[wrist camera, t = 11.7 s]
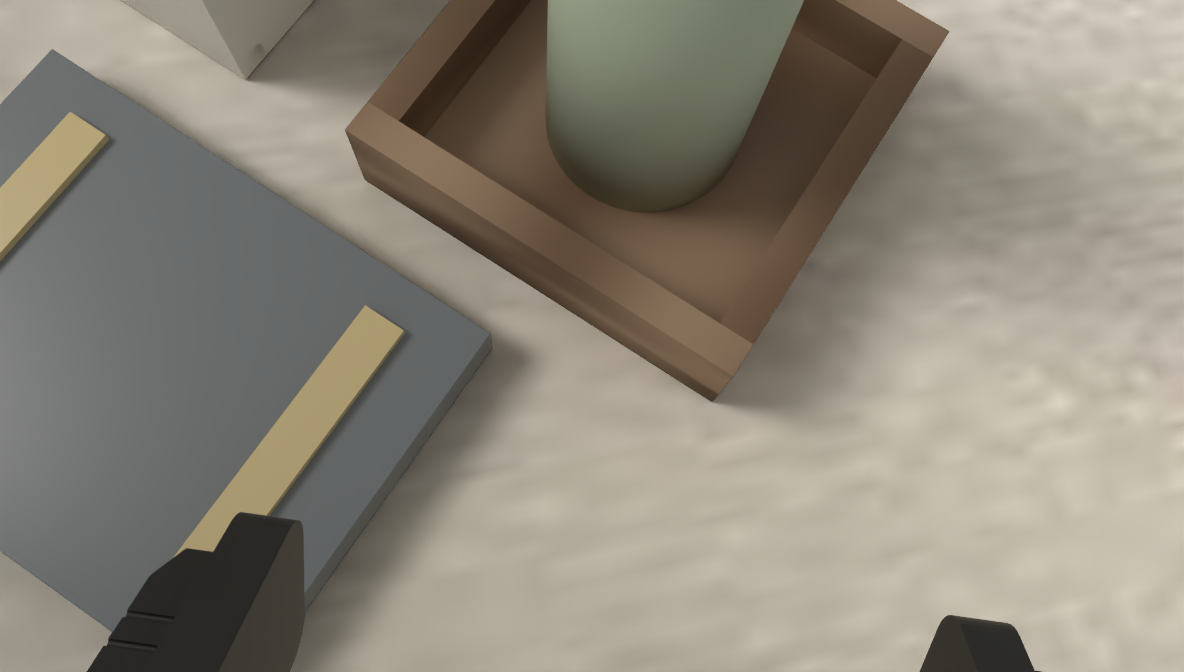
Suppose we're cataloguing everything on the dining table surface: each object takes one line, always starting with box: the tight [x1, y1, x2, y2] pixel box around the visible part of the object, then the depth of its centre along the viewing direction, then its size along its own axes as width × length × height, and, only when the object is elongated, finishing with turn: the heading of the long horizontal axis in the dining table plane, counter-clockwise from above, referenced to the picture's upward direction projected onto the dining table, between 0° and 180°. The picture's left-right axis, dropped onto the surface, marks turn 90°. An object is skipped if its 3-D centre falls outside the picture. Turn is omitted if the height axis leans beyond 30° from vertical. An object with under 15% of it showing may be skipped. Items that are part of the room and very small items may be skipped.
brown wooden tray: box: [345, 0, 949, 402], centre depth 23 cm, size 10×10×2 cm
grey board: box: [0, 49, 492, 632], centre depth 21 cm, size 12×9×2 cm
